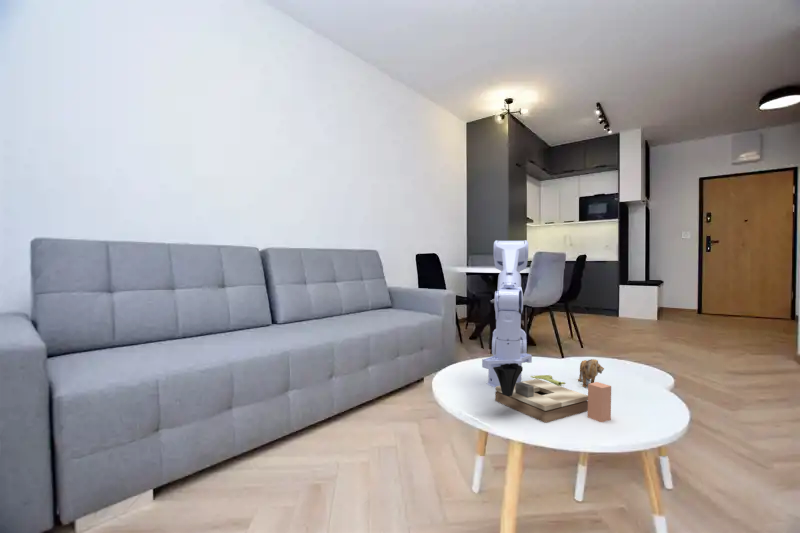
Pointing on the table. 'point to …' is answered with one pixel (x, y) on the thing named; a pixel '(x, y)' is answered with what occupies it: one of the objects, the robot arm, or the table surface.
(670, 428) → the table surface
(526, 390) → the lid
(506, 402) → the wooden box
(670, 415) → the table surface
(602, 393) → the terracotta rectangular block
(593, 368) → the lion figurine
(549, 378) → the key
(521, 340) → the robot arm
